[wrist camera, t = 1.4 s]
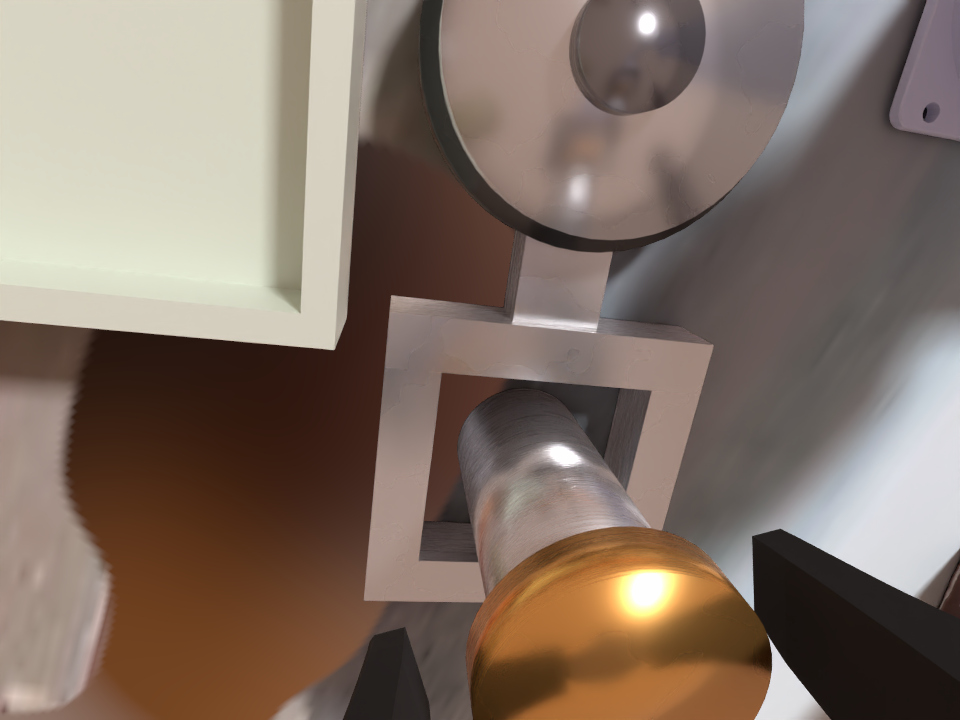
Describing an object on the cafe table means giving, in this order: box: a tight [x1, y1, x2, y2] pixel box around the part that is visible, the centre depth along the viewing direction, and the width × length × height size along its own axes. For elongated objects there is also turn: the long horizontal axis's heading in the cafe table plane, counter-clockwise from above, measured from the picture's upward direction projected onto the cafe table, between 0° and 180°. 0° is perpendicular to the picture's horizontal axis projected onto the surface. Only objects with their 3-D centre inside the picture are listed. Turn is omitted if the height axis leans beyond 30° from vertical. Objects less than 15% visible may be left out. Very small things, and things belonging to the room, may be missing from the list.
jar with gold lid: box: [457, 388, 772, 720], centre depth 14 cm, size 5×5×9 cm
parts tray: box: [0, 0, 367, 350], centre depth 11 cm, size 13×13×3 cm
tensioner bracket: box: [364, 0, 804, 602], centre depth 14 cm, size 9×20×4 cm, turn 172°
